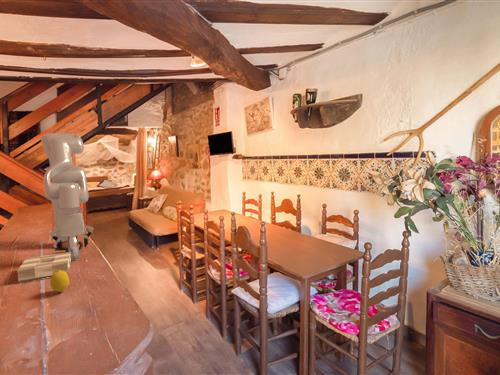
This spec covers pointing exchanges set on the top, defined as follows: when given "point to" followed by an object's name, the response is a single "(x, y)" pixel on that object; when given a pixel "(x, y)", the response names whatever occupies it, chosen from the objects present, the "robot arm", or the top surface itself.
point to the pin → (73, 247)
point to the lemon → (59, 281)
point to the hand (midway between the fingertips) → (73, 248)
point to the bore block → (43, 266)
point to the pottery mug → (65, 246)
